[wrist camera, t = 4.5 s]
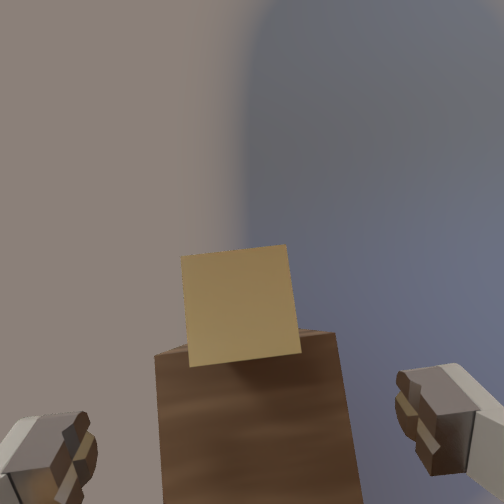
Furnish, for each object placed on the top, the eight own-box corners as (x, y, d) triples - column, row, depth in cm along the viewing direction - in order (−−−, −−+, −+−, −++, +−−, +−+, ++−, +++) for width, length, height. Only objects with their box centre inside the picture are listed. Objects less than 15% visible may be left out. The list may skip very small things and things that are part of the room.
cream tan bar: (301, 352, 11) (285, 244, 12) (189, 367, 11) (180, 256, 11) (265, 333, 30) (260, 293, 31) (225, 338, 30) (221, 297, 31)
